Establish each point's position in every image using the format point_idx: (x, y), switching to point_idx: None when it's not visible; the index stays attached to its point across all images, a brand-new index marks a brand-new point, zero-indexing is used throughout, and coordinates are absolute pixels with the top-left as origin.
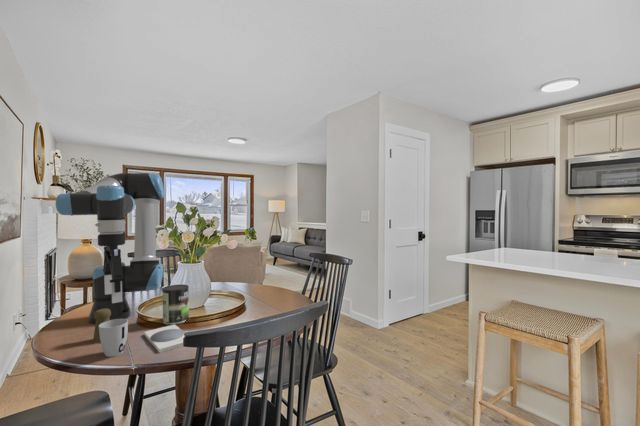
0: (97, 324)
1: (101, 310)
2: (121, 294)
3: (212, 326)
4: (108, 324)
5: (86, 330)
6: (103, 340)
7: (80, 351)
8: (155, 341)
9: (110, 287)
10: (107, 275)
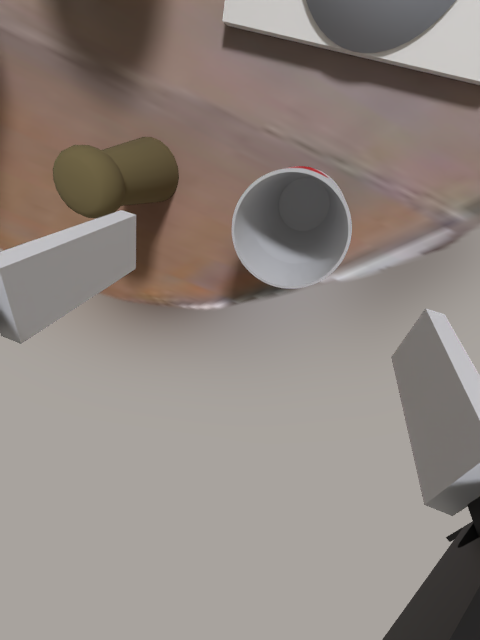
0: (127, 203)
1: (87, 196)
2: (460, 353)
3: None
4: (240, 227)
5: (34, 168)
6: (307, 263)
7: (199, 253)
8: (396, 46)
9: (104, 253)
10: (16, 322)
